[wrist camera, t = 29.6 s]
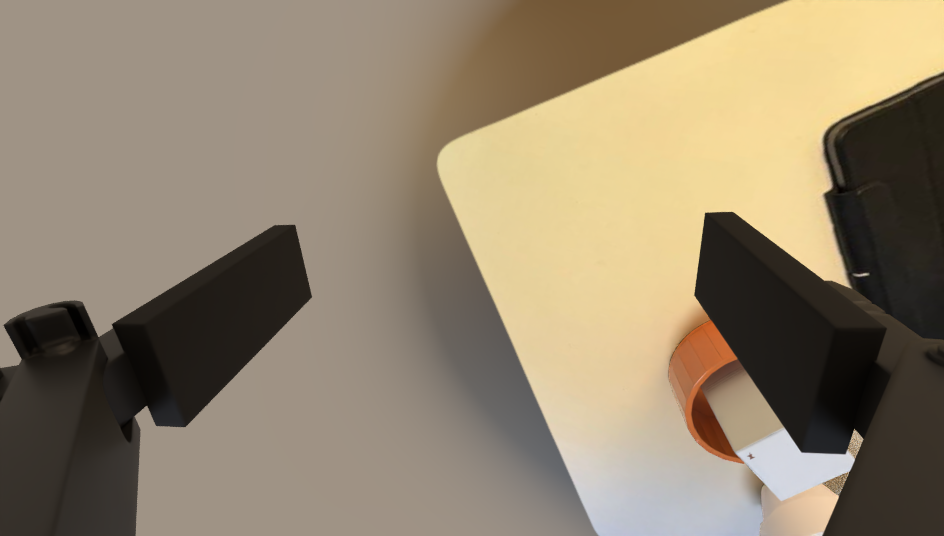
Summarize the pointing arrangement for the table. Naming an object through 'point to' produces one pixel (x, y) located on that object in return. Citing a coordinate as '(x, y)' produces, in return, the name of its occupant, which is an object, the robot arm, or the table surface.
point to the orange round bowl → (688, 373)
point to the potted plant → (797, 512)
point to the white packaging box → (766, 436)
